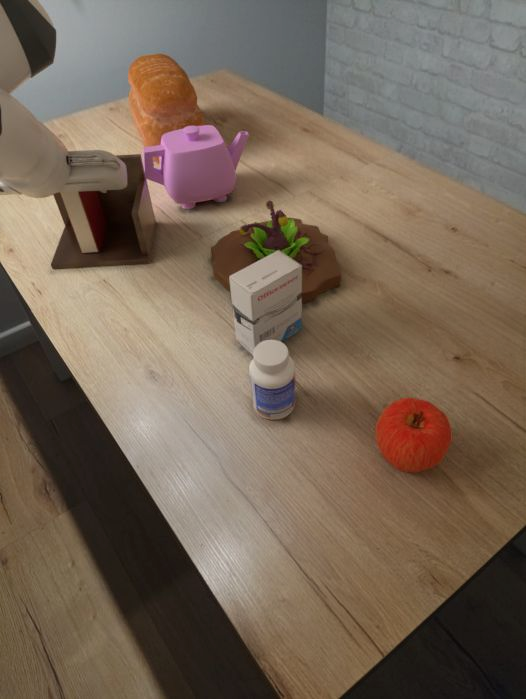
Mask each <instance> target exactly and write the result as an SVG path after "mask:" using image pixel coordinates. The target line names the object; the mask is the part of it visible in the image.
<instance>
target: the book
mask: <svg viewBox="0 0 526 699" xmlns="http://www.w3.org/2000/svg"><path fill="white" fill-rule="evenodd" d="M60 195H61V198H62V200H63V203H64V206H65V209H66V211H67V214H68V217H69V219H70V222H71V225H72V228H73V230H74V233H75V236H76V238H77V241H78V244H79V247H80V249H81V252H82V253H92V252H100V249H101V245H102V242H103V238H104V234H105V231H106V227H107V222H106V219H105V216H104V213H103V209H102V206H101V203H100V200H99V196H98V193H96V192H95V191H79V192H60Z"/></svg>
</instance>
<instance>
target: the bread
mask: <svg viewBox="0 0 526 699" xmlns="http://www.w3.org/2000/svg"><path fill="white" fill-rule="evenodd" d="M127 72H128V73H127V81H128V83H129V86H130V88H129V95H128V102H129V104H128V105H129V110H130V113H131V116H132V119H133V122H134V124H135V127H136V129H137V131H138V133H139V135H140V136H139V137H140V138H141V139H142V144H143V146H144V147H151V146H157V145H161V139H162V136H163V135H164V134H165V133H168V132H171V131H175V130H179V129H184V128H185V127H187V126H204V125H207V124H206V120H205V117H204V114H203V112H202V111H201V110H202V109H201V108H200V107H199V105H198V95H197V92H196V89H195V87H194V86H193V84H192V83H191V80H190V78H189V75H188V73H187V72H186V70H185V69H184V68H182V66H180V65H179V63H178V61H176V60H175V59H173V58H172V57H171V56H170V55H167V54H164V53H153V54H147V55H141V56H139V57H137V58H136V59H135V60H134V61H133V62H132V63H131V64H130V66H129V68H128V71H127ZM144 147H143V148H144ZM153 162H154V163H157V164H159V165H160V163H159V157H153Z"/></svg>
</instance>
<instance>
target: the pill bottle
mask: <svg viewBox="0 0 526 699" xmlns="http://www.w3.org/2000/svg"><path fill="white" fill-rule="evenodd" d="M252 357H253V358H252V359H251V361H250V363H249V367H248V372H249V382H250V390H251V399H252V406H253V409H254V411H255V412H256V414H257V415H259V416H260V417H261V418H263V419H266V420H271V421H274V420H282V419H284V418H286V417H288V416H289V415H290V414H292V412H293V410H294V409H295V406H296V364H295V362H294V360H293V358H292V357H290V354H289V349H288V346H287V345H286V344H285V343H284V342H280V341H277V340H266V341H263V342H261V343H259V344H258V345H257V346H256V347H255V349H254V352H253V355H252Z"/></svg>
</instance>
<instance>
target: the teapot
mask: <svg viewBox="0 0 526 699" xmlns="http://www.w3.org/2000/svg"><path fill="white" fill-rule="evenodd" d="M249 135H250V134H249V132H248V131H247V130H246V131H238V133H237V135H236V136H235V138H234V139H233V141H232V142H231V143H230V145H229V146H227V144H226V142H225V140H224V138H223V136H222V135H221V133H220V131H219V130H218V129H217V128H216V126H214V125H212V124H206V125H204V126H187V127H185V128H184V129H179V130H175V131H171V132H168V133H165V134H164V135H163V136H162V139H161V145H157V146H151V147H142V162H143V167H144V171H145V176H146V180H147V181H148V180H149V181H150V182H153V183H156V184H159V185H163V187H164V189H165V190H166V192H167V194H168V195H169V197H170V198H171V200H172V201H173V202H174V203H175V204H179V205H180V204H181V208H182V209H184V210H189V209H193V208H194V207H195V206H196V203H200V202H201V203H202V202H206V201H211V200H213V201H215V202H218V203H223V202H225V201H226V200H227V199H228V197H227V195H229V194H231V193H232V192H233V191H234V189H235V187H236V184H237V176H236V171H237V168H238V165H239V162H240V160H241V157H242V154H243V152H244V149H245V146H246V144H247V141H248V139H249V137H250V136H249ZM153 157H159V163H160V164H159V163H158V164H159V168H157V167H155V164H154V161H153Z"/></svg>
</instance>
